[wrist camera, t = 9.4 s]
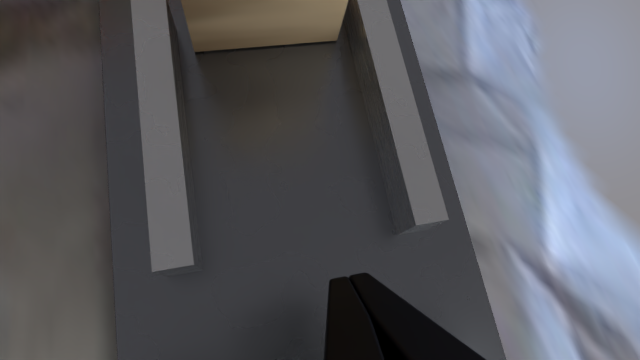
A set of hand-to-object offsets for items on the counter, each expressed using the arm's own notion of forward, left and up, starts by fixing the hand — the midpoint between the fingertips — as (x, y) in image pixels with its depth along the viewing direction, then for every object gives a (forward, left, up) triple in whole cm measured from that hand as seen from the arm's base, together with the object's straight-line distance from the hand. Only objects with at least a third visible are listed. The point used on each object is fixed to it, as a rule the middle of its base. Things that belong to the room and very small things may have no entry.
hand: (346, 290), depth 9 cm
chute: (+5, -2, -7) cm, 9 cm away
